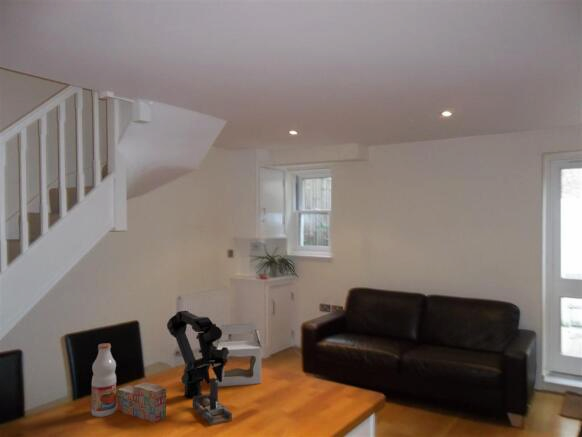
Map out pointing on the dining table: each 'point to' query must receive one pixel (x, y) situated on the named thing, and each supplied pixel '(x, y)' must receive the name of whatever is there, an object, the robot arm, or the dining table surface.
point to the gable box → (241, 350)
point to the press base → (200, 405)
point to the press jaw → (214, 399)
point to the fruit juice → (103, 383)
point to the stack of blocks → (143, 401)
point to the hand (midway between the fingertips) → (214, 382)
